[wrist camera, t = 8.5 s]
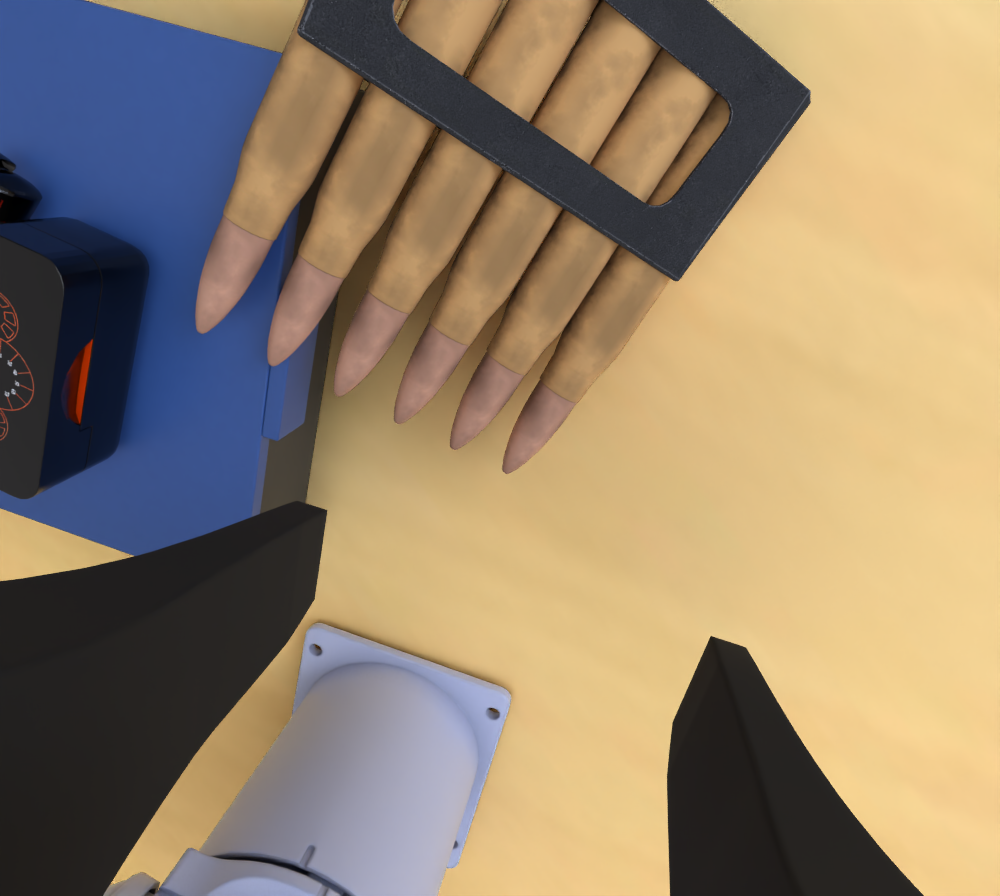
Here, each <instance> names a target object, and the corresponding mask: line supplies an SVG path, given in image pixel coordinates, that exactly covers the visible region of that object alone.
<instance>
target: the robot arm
mask: <svg viewBox="0 0 1000 896" xmlns="http://www.w3.org/2000/svg"><path fill="white" fill-rule="evenodd" d="M326 516H327V510H325V509H321V508H318V507H315V506H312V505H309V504H306V503H303V502H300V501H294V502H291V503H288V504H285V505H282V506H279V507H277V508H274V509H271V510H269V511H266V512H263V513H261V514H258V515H255V516H253V517H250V518H248V519H245V520H242V521H240V522H237V523H234V524H232V525H229V526H226V527H224V528H221V529H218V530H215V531H213V532H210V533H207V534H205V535H202V536H198V537H195V538H192V539H189V540H186V541H183V542H180V543H177V544H174V545H171V546H167V547H164V548H161V549H158V550H155V551H152V552H148V553H145V554H141V555H138V556H134V557H130V558H126V559H122V560H118V561H114V562H109V563H105V564H101V565H96V566H92V567H87V568H82V569H77V570H71V571H65V572H59V573H53V574H47V575H41V576H35V577H29V578H23V579H15V580H7V581H0V896H438V893H439V890H440V887H441V884H442V880H443V877H444V874H445V871H446V868H454V867H456V866H457V865H458V863H459V860H460V856H461V853H462V850H463V847H464V844H465V841H466V838H467V835H468V832H469V829H470V826H471V823H472V820H473V817H474V814H475V811H476V808H477V805H478V801H479V798H480V795H481V792H482V789H483V786H484V783H485V780H486V777H487V774H488V771H489V768H490V765H491V762H492V759H493V756H494V753H495V750H496V747H497V743H498V740H499V737H500V734H501V731H502V728H503V725H504V722H505V719H506V716H507V713H508V710H509V707H510V703H511V695H510V693H509V692H508V691H507V690H506V689H505V688H503V687H501V686H498V685H495V684H492V683H489V682H487V681H484V680H481V679H478V678H475V677H473V676H470V675H467V674H464V673H461V672H458V671H456V670H453V669H450V668H447V667H444V666H442V665H439V664H436V663H433V662H430V661H428V660H425V659H422V658H419V657H416V656H413V655H411V654H408V653H405V652H402V651H399V650H397V649H394V648H391V647H388V646H385V645H382V644H380V643H377V642H374V641H371V640H368V639H366V638H363V637H360V636H357V635H354V634H351V633H349V632H346V631H343V630H340V629H337V628H335V627H332V626H329V625H326V624H323V623H314V624H313V625H312V626H310V628H309V629H308V630H307V632H306V635H305V640H304V646H303V652H302V658H301V664H300V670H299V676H298V681H297V687H296V693H295V699H294V705H293V711H292V716H291V718H290V720H289V721H288V723H287V724H286V726H285V727H284V729H283V730H282V731H281V733H280V734H279V736H278V737H277V739H276V740H275V742H274V743H273V744H272V746H271V747H270V749H269V750H268V752H267V753H266V755H265V756H264V757H263V759H262V760H261V762H260V763H259V765H258V766H257V768H256V769H255V770H254V772H253V773H252V775H251V776H250V778H249V779H248V781H247V782H246V783H245V785H244V786H243V788H242V789H241V791H240V792H239V794H238V795H237V796H236V798H235V799H234V801H233V802H232V804H231V805H230V807H229V808H228V809H227V811H226V812H225V814H224V815H223V817H222V818H221V820H220V821H219V822H218V824H217V825H216V827H215V828H214V830H213V831H212V833H211V834H210V835H209V837H208V838H207V840H206V841H205V843H204V844H203V846H202V847H201V848H200V850H199V851H198V850H196V849H193V848H188V849H187V850H186V851H185V853H184V854H183V855H182V857H181V858H180V860H179V861H178V863H177V864H176V865H175V867H174V868H173V870H172V871H171V872H170V874H169V875H168V877H167V878H166V879H165V881H164V882H163V884H162V885H161V886H160V888H159V884H160V882H159V881H157V880H155V879H154V878H152V877H151V876H149V875H147V874H146V873H142V872H140V873H138V874H135V875H132V876H131V877H130V878H129V879H127V880H124V881H121V882H118V883H115V884H113V885H110V884H111V882H112V880H113V879H114V877H115V876H116V874H117V872H118V871H119V869H120V867H121V866H122V864H123V863H124V861H125V859H126V858H127V856H128V855H129V853H130V851H131V850H132V848H133V847H134V845H135V844H136V842H137V841H138V839H139V838H140V836H141V835H142V833H143V831H144V830H145V828H146V827H147V825H148V824H149V822H150V821H151V819H152V818H153V816H154V815H155V813H156V811H157V810H158V808H159V807H160V805H161V804H162V802H163V801H164V799H165V798H166V796H167V795H168V793H169V792H170V791H171V789H172V788H173V786H174V785H175V783H176V782H177V780H178V779H179V777H180V776H181V774H182V773H183V771H184V770H185V768H186V767H187V766H188V764H189V763H190V761H191V760H192V758H193V757H194V755H195V754H196V753H197V751H198V750H199V749H200V747H201V746H202V745H203V744H204V742H205V741H206V740H207V738H208V737H209V736H210V734H211V733H212V732H213V731H214V730H215V728H216V727H217V726H218V725H219V724H220V722H221V721H222V720H223V719H224V718H225V716H226V715H227V714H228V713H229V712H230V711H231V709H232V708H233V707H234V706H235V705H236V703H237V702H238V701H239V700H240V699H241V697H242V696H243V695H244V694H245V693H246V692H247V690H248V689H249V688H250V687H251V686H252V684H253V683H254V682H255V681H256V680H257V679H258V677H259V676H260V675H261V674H262V673H263V671H264V670H265V669H266V668H267V667H268V665H269V664H270V663H271V662H272V660H273V659H274V658H275V657H276V656H277V654H278V653H279V652H280V651H281V650H282V648H283V647H284V646H285V645H286V643H287V642H288V641H289V639H290V637H291V636H292V634H293V633H294V631H295V630H296V628H297V627H298V625H299V624H300V622H301V620H302V619H303V617H304V616H305V614H306V612H307V611H308V609H309V607H310V606H311V604H312V602H313V601H314V599H315V592H316V585H317V578H318V571H319V564H320V558H321V551H322V544H323V537H324V530H325V523H326ZM314 644H317V645H318V646H320V648H321V649H322V650H321V649H318V648H316V647H315V645H314ZM489 708H495V709H496V710H498V711H499V712H493V711H491V710H490V709H489ZM667 797H668V837H669V872H670V896H924V895H923V894H922V893H921V892H920V891H919V890H918V889H917V888H916V887H915V886H914V885H913V884H912V883H911V882H910V880H909V879H908V878H907V877H906V876H905V875H904V874H903V873H902V872H901V871H900V870H899V868H898V867H897V866H896V865H895V864H894V863H893V862H892V861H891V859H890V858H889V857H888V856H887V855H886V854H885V853H884V851H883V850H882V849H881V848H880V847H879V845H878V844H877V843H876V842H875V840H874V839H873V838H872V837H871V836H870V834H869V833H868V832H867V831H866V829H865V828H864V827H863V826H862V824H861V823H860V822H859V821H858V820H857V818H856V817H855V816H854V815H853V813H852V812H851V811H850V809H849V808H848V807H847V806H846V804H845V803H844V802H843V800H842V799H841V798H840V796H839V795H838V794H837V792H836V791H835V789H834V788H833V786H832V785H831V784H830V782H829V781H828V779H827V778H826V776H825V775H824V774H823V772H822V771H821V769H820V768H819V767H818V765H817V764H816V762H815V761H814V759H813V758H812V756H811V755H810V753H809V752H808V750H807V749H806V747H805V746H804V744H803V743H802V741H801V739H800V738H799V736H798V735H797V733H796V731H795V730H794V728H793V727H792V725H791V723H790V722H789V720H788V719H787V717H786V715H785V714H784V712H783V710H782V709H781V707H780V705H779V704H778V702H777V700H776V698H775V697H774V695H773V693H772V692H771V690H770V688H769V686H768V685H767V683H766V681H765V679H764V678H763V676H762V674H761V672H760V671H759V669H758V667H757V665H756V664H755V662H754V660H753V659H752V657H751V655H750V654H749V652H748V650H747V649H746V647H743V646H740V645H737V644H734V643H731V642H728V641H724V640H721V639H718V638H715V637H712V636H711V637H710V639H709V641H708V644H707V646H706V648H705V650H704V653H703V655H702V657H701V659H700V662H699V664H698V666H697V669H696V671H695V673H694V675H693V678H692V680H691V682H690V684H689V687H688V689H687V691H686V693H685V696H684V698H683V700H682V703H681V705H680V707H679V709H678V712H677V714H676V716H675V718H674V721H673V725H672V734H671V743H670V751H669V762H668V773H667ZM109 885H110V886H109ZM158 888H159V890H158Z"/></svg>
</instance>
